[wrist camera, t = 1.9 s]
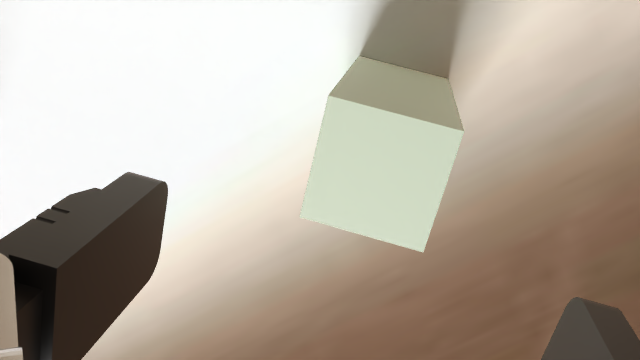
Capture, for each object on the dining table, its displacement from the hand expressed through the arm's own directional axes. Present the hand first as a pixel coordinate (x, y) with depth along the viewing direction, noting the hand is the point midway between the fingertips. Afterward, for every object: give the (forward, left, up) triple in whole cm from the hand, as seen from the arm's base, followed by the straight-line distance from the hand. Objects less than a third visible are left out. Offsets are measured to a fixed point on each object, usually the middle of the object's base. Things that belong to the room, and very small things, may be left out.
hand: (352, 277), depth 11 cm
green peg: (0, 0, -15) cm, 15 cm away
